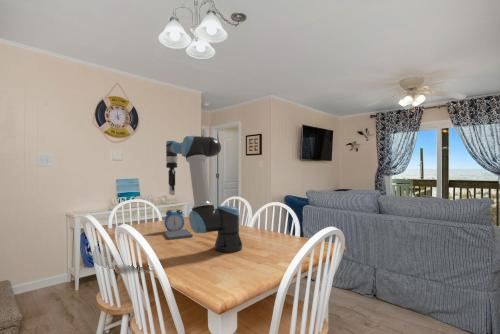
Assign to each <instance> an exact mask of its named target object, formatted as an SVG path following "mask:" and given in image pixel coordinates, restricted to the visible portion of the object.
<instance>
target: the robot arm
mask: <svg viewBox="0 0 500 334" xmlns="http://www.w3.org/2000/svg"><path fill="white" fill-rule="evenodd" d="M165 147H166V148H165V149H166V150H165V151H166V152H165V156H166V157H165V159H166V160H165V162H166V165H165V167H166V168H167V169H169V170H168V171H167V172H168V195H170V196H175V195H176V194H175V193H176V190H175V189H176V187H175V186H176V170H175V169H177V168H178V163H177V162H178V155H179V154H180V155H181V156H182V157H184V158H185V161H186V162H187V163H189V164H188V165H189V173H190V178H191V179H190V181H191V189H192V196H193V198H192V199H193V205H192V208H191V211H190V212H189V214H188V221H189V226H190V228H191V230H192V231H193V233H195V234H206V233H212V232H217V236H216V239H215V243H214V250H215V251H216V252H219V253H235V252H238V251H241V250H242V249H243V242H242V239H241V237H240V210H239V208H238V207H235V206H232V205H218V206H217V207H216V208H215V205H214V204H213V203H211V197H210V189H209V183H208V182H209V181H208V176H207V167H206V160H207V158H211V157H215V156H218V155H219V153H220V152H221V149H222V144H221V142H220V141H219V140H218V139H217V138H215V137H212V136H196V135H187V136H185V137H184V138H183V140H182V142H180V141H179V142H177V141H176V140H166V143H165Z"/></svg>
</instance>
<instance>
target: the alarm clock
mask: <svg viewBox="0 0 500 334" xmlns="http://www.w3.org/2000/svg"><path fill="white" fill-rule="evenodd" d="M183 214H184V212H183V210H182V209H177V210H175V211H174V210H172V209H171V210H170V209H169V210H167V211H166V212H165V215H166V216H165V218H164V227H165V230H166V231H171V230H181V229H184V226H185V218H184V216H183Z"/></svg>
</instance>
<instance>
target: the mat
mask: <svg viewBox="0 0 500 334" xmlns="http://www.w3.org/2000/svg"><path fill="white" fill-rule="evenodd" d="M163 234H164V236H165V237H166V238H167V240H168V241H169V240H177V239H178V240H179V239H186V238H193V234H192V232H190V231H189V230H188V229H187V228H182V229H181V230H171V231H168V230H164V232H163Z"/></svg>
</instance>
